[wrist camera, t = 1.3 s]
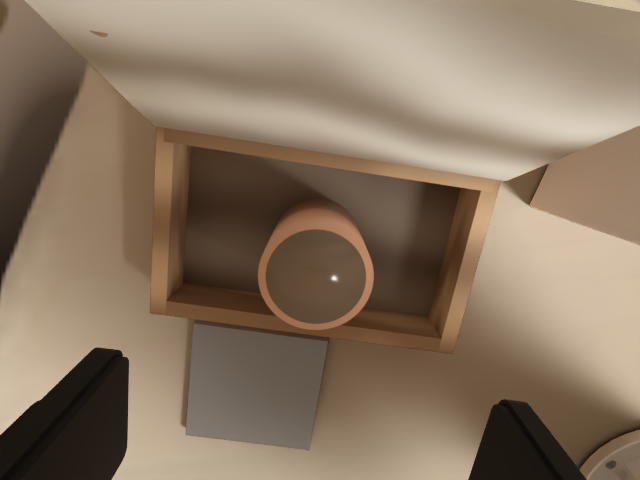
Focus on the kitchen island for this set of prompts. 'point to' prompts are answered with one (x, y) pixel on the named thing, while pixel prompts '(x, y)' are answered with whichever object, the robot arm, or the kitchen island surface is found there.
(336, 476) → the kitchen island surface
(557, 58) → the box
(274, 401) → the slate tile
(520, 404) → the robot arm
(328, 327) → the pot
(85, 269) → the kitchen island surface
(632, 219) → the milk carton
